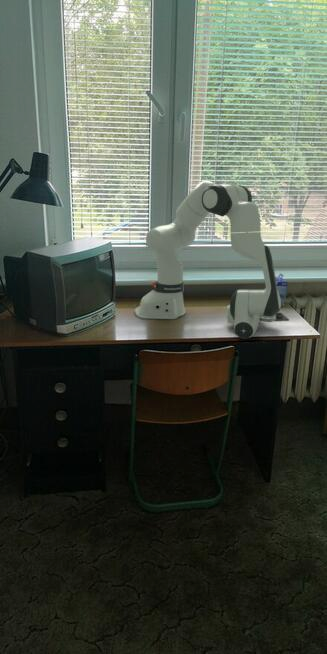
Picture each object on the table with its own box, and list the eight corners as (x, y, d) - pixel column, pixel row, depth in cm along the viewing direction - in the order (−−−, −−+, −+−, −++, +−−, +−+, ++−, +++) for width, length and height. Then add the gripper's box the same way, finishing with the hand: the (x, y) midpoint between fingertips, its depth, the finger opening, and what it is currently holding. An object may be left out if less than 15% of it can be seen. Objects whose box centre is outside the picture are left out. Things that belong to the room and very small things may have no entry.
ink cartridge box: (285, 306, 229) (288, 276, 224) (274, 307, 228) (277, 277, 223) (277, 300, 238) (280, 271, 233) (266, 301, 237) (269, 272, 232)
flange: (269, 321, 209) (269, 319, 209) (261, 314, 218) (261, 312, 217) (288, 320, 211) (289, 318, 211) (280, 313, 219) (280, 312, 219)
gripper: (276, 313, 191) (278, 303, 204) (224, 307, 196) (230, 298, 209) (274, 328, 193) (277, 317, 206) (223, 322, 199) (229, 312, 211)
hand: (253, 307), depth 207 cm, fingers closed on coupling, 5 cm apart
